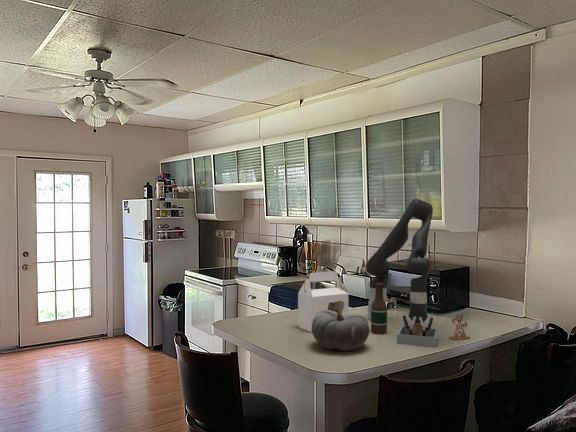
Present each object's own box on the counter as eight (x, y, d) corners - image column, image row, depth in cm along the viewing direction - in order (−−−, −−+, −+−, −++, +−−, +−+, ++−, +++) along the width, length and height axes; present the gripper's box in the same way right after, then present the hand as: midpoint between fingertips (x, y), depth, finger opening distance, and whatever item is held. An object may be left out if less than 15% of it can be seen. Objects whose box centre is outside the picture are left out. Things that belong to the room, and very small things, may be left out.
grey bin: (397, 343, 220) (397, 334, 220) (401, 334, 236) (401, 325, 236) (435, 347, 215) (436, 338, 215) (437, 337, 231) (437, 329, 231)
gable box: (334, 322, 260) (334, 269, 259) (348, 327, 248) (349, 272, 247) (297, 326, 249) (297, 271, 248) (310, 332, 237) (311, 275, 237)
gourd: (306, 332, 227) (313, 296, 225) (358, 341, 229) (366, 305, 227) (311, 354, 202) (319, 314, 200) (370, 363, 204) (378, 324, 202)
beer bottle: (387, 331, 242) (388, 282, 241) (385, 335, 234) (386, 284, 234) (372, 329, 244) (372, 281, 244) (369, 333, 237) (370, 283, 236)
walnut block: (412, 341, 224) (412, 325, 224) (412, 338, 228) (413, 323, 228) (422, 341, 223) (422, 326, 223) (423, 339, 227) (423, 324, 227)
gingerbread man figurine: (464, 336, 232) (464, 311, 232) (469, 338, 229) (470, 313, 229) (448, 338, 229) (449, 312, 229) (454, 340, 226) (455, 314, 225)
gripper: (401, 301, 224) (400, 339, 224) (434, 304, 219) (433, 342, 220) (403, 298, 231) (402, 335, 231) (434, 300, 226) (434, 337, 227)
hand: (417, 338), depth 226 cm, fingers closed on walnut block, 4 cm apart
